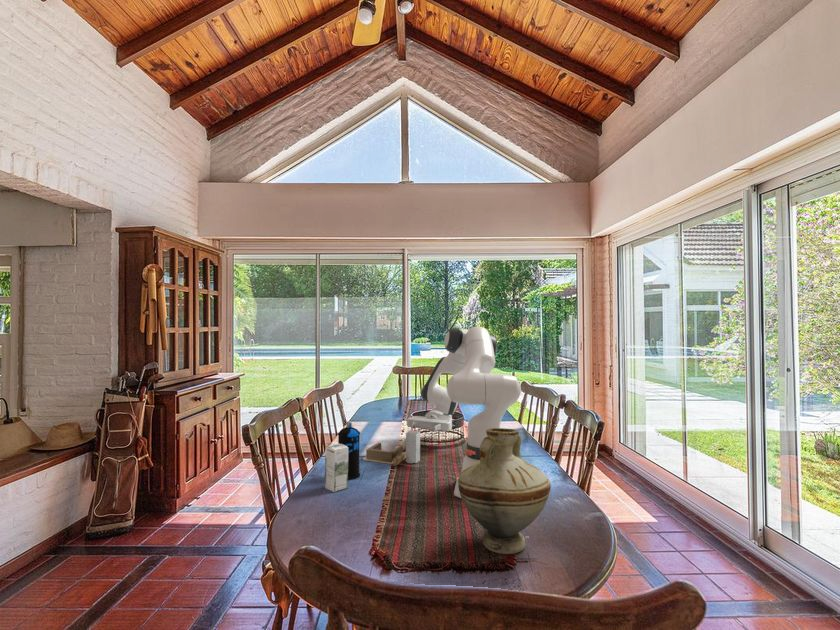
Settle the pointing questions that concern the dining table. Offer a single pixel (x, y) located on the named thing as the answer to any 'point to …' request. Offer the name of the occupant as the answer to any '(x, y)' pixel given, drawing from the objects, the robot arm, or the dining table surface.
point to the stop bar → (412, 446)
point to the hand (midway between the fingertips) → (423, 427)
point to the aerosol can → (351, 448)
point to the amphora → (503, 491)
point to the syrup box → (336, 467)
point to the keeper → (382, 454)
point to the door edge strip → (399, 459)
